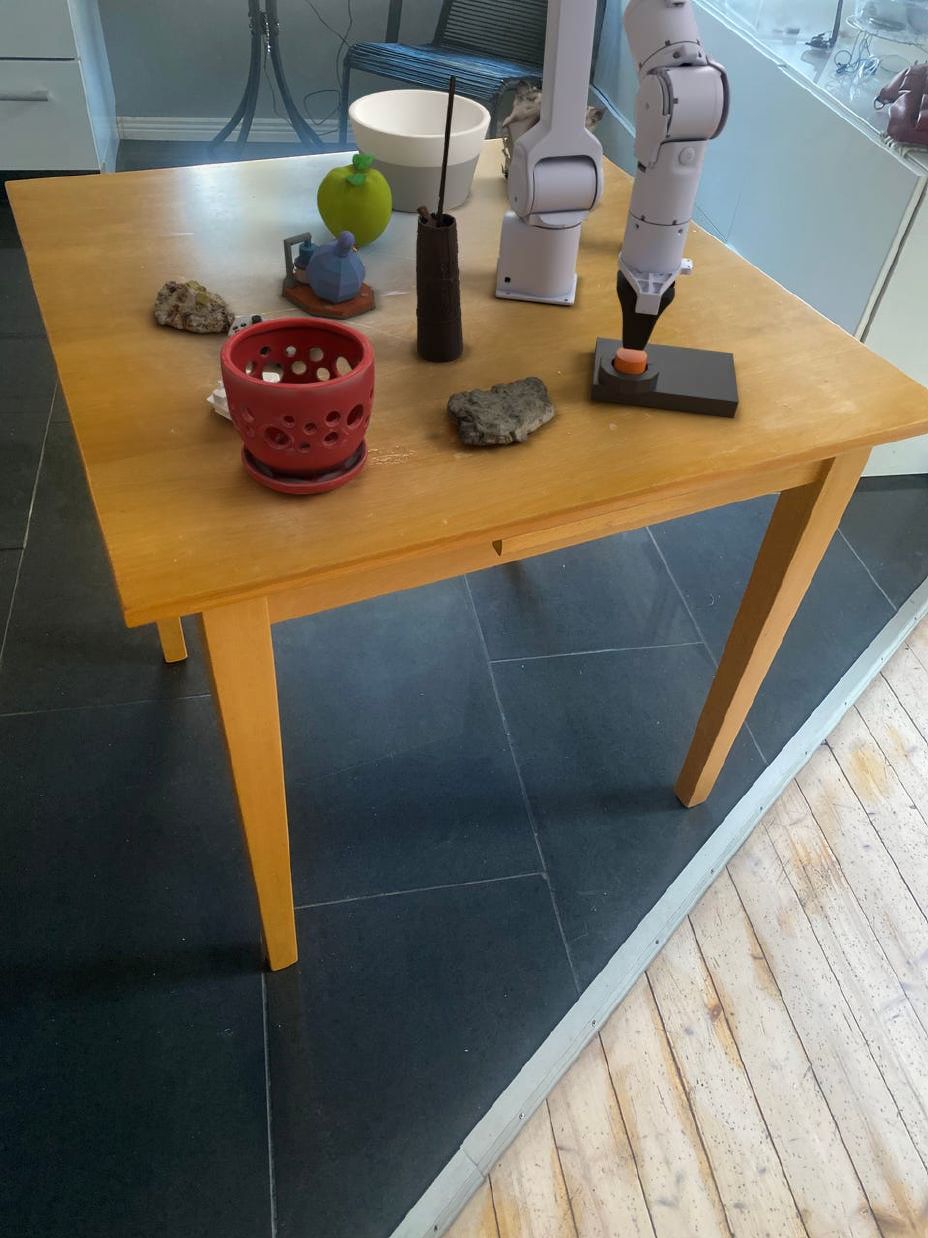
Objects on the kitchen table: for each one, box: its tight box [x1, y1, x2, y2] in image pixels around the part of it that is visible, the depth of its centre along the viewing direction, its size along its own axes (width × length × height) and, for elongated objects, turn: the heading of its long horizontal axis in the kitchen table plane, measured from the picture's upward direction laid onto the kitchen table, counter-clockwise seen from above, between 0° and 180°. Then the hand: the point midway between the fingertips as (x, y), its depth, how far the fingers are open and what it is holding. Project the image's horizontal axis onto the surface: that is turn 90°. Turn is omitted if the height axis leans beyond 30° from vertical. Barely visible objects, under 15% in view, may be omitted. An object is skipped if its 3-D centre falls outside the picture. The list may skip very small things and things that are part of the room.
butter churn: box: [415, 74, 464, 363], centre depth 96 cm, size 9×10×28 cm
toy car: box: [206, 369, 281, 421], centre depth 94 cm, size 5×8×4 cm, turn 142°
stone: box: [446, 376, 555, 446], centre depth 94 cm, size 14×8×3 cm, turn 123°
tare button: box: [614, 347, 647, 375], centre depth 98 cm, size 3×3×2 cm
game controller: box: [227, 314, 316, 368], centre depth 102 cm, size 10×5×6 cm
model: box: [281, 231, 377, 321], centre depth 109 cm, size 12×9×9 cm
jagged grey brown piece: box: [500, 79, 607, 182], centre depth 133 cm, size 15×4×13 cm, turn 54°
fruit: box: [316, 153, 393, 248], centre depth 120 cm, size 9×9×10 cm
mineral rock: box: [154, 279, 236, 334], centre depth 106 cm, size 11×4×8 cm
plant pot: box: [219, 316, 376, 495], centre depth 85 cm, size 13×13×12 cm
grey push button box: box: [590, 336, 740, 418], centre depth 101 cm, size 15×11×4 cm
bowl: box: [348, 89, 491, 214], centre depth 132 cm, size 19×19×11 cm
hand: (633, 346), depth 97 cm, fingers closed
